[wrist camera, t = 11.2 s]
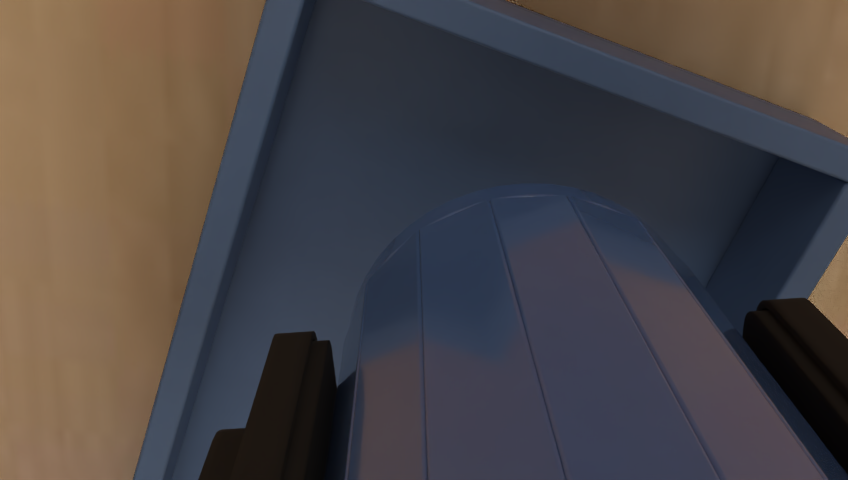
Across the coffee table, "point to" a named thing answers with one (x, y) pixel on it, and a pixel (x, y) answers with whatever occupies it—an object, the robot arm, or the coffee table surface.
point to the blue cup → (553, 356)
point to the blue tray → (466, 177)
